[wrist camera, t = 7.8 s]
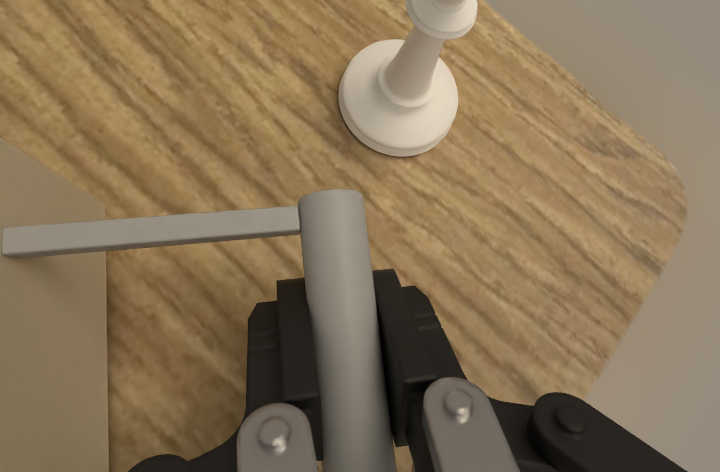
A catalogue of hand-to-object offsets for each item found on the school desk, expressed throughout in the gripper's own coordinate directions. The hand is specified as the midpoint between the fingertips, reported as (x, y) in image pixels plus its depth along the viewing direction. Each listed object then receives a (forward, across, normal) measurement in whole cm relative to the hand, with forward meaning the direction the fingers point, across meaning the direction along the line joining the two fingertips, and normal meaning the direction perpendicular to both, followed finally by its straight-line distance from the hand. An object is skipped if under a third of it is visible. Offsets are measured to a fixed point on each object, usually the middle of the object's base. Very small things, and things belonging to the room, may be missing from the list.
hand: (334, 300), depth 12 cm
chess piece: (+9, -4, -2) cm, 10 cm away
